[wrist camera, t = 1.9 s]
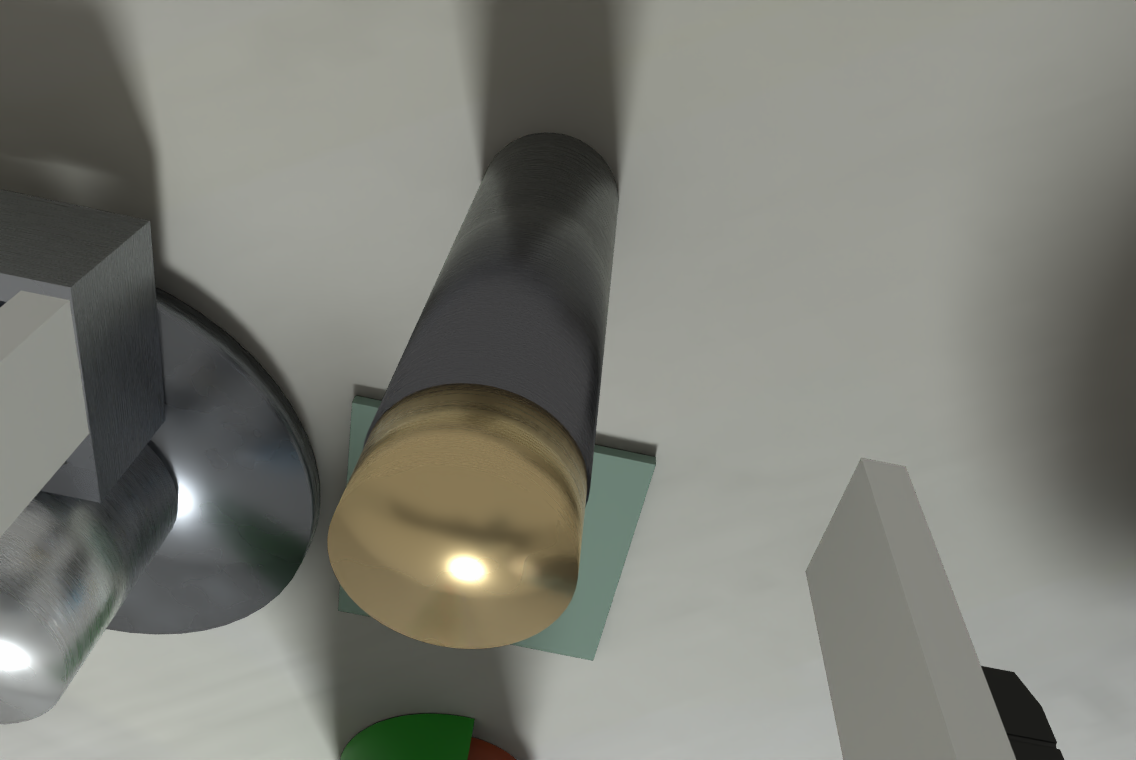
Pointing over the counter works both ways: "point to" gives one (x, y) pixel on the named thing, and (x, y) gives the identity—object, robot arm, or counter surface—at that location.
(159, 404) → the grey cylinder with box
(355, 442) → the mat
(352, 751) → the cutaway screw mechanism model
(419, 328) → the gold capped bottle
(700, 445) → the counter surface
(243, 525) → the base
